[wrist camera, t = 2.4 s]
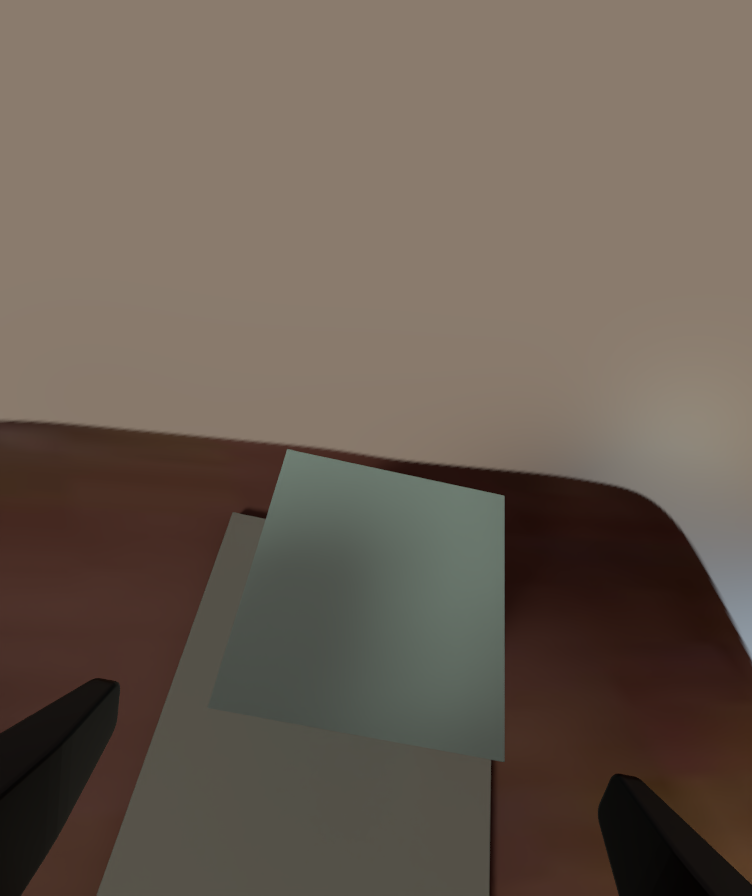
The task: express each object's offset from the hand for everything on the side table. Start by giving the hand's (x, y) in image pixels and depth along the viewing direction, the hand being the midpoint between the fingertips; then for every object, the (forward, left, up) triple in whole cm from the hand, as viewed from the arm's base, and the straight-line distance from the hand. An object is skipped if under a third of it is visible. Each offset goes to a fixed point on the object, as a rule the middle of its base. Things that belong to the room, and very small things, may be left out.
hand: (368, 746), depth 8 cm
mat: (0, 0, -10) cm, 10 cm away
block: (+2, -3, -10) cm, 10 cm away
